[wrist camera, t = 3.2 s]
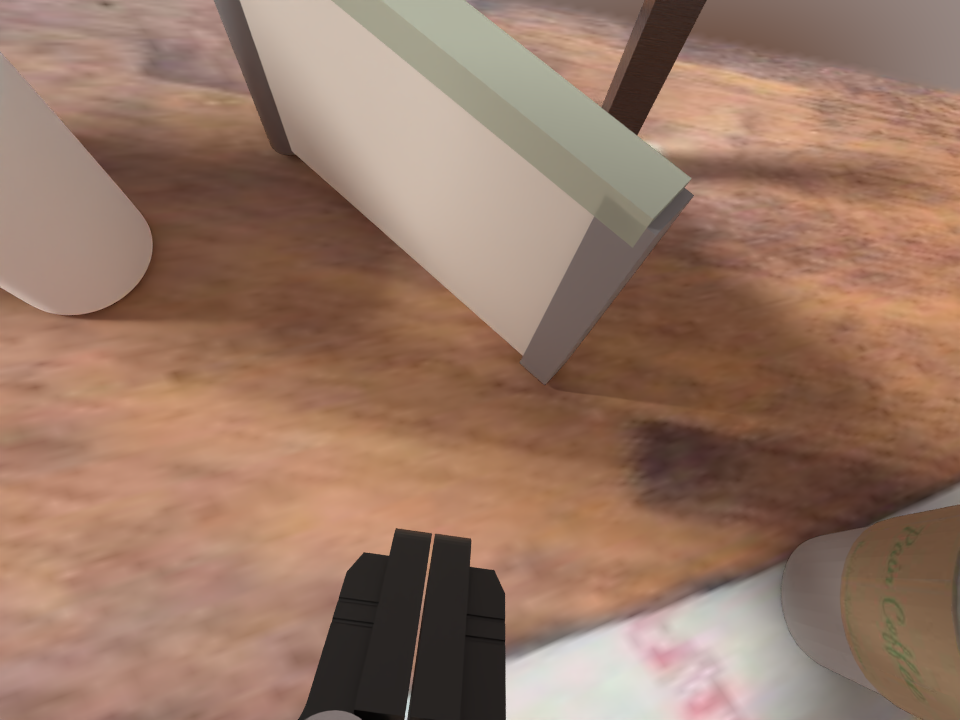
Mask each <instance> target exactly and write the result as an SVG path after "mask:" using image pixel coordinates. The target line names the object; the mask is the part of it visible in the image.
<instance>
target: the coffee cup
mask: <svg viewBox="0 0 960 720" xmlns="http://www.w3.org/2000/svg"><path fill="white" fill-rule="evenodd" d="M781 599H782V608H783V613H784V618H785V621H786V623H787V626H788V629H789V631H790V633H791V635H792V637H793V638H794V640H795V642H796V643H797V645H798V646H799V647H800V648H801V649H802V650H803V651H804V652H805V653H806V655H807V656H809V657H810V658H811V659H813V660H814V661H815V662H817V663H818V664H820V665H821V666H823V667H825V668H827V669H829V670H831V671H833V672H835V673H838V674H840V675H842V676H844V677H846V678H848V679H850V680H852V681H854V682H856V683H858V684H860V685H862V686H864V687H866V688H868V689H870V690H872V691H874V692H877V693H879V694H881V695H882V696H884V697H885V698H886V699H888V700H889V701H890V702H892V703H893V704H895V705H896V706H897V707H899V708H900V709H902V710H904V711H906V712H908V713H910V714H912V715H914V716H916V717H918V718H920V719H922V720H960V505H955V506H950V507H945V508H940V509H935V510H929V511H924V512H919V513H914V514H909V515H904V516H899V517H894V518H890V519H887V520H884V521H881V522H877V523H875V524H874V525H872V526H868V527H863V528H858V529H853V530H848V531H843V532H837V533H832V534H827V535H822V536H818V537H815V538H812V539H809V540H807V541H805V542H804V543H802V544H801V545H799V546H798V547H797V548H796V549H795V551H794V552H793V553H792V554H791V556H790V558H789V560H788V562H787V564H786V566H785V570H784V573H783V577H782V586H781Z"/></svg>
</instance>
